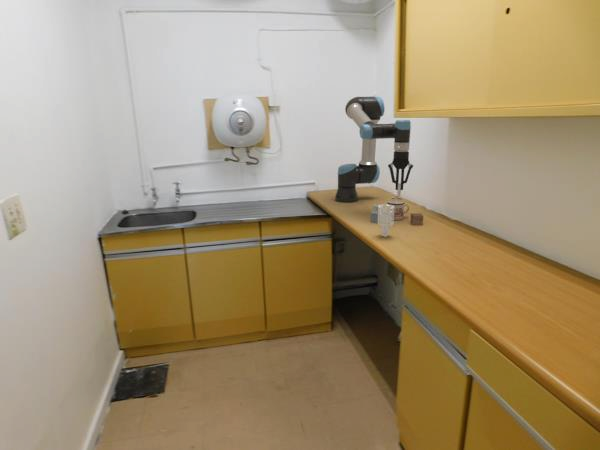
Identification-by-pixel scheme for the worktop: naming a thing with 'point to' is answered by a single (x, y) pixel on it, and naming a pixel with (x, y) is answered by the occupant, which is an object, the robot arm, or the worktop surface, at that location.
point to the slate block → (374, 217)
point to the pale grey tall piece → (385, 218)
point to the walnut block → (416, 219)
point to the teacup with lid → (398, 208)
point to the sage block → (376, 207)
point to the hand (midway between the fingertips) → (398, 196)
